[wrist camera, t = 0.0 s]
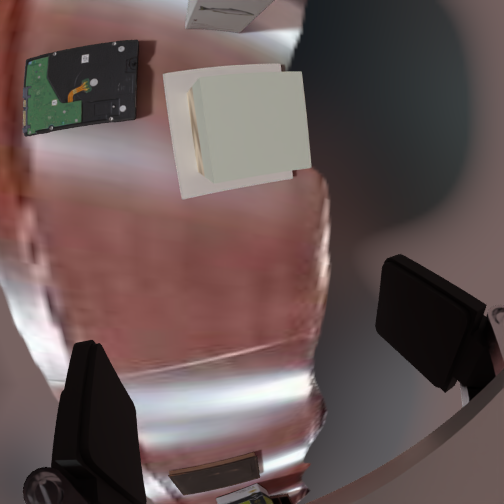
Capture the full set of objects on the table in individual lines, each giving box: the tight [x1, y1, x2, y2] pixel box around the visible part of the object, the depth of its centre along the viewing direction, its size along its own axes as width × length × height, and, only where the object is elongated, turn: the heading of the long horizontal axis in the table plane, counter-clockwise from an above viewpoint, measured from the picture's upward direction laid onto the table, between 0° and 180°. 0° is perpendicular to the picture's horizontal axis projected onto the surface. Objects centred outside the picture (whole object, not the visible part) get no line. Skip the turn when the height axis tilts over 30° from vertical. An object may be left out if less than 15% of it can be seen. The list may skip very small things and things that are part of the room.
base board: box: [163, 64, 293, 199], centre depth 35 cm, size 16×15×1 cm
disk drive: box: [23, 40, 139, 136], centre depth 27 cm, size 10×3×15 cm
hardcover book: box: [168, 452, 260, 495], centre depth 64 cm, size 16×23×2 cm
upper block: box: [192, 72, 311, 184], centre depth 28 cm, size 10×10×5 cm
